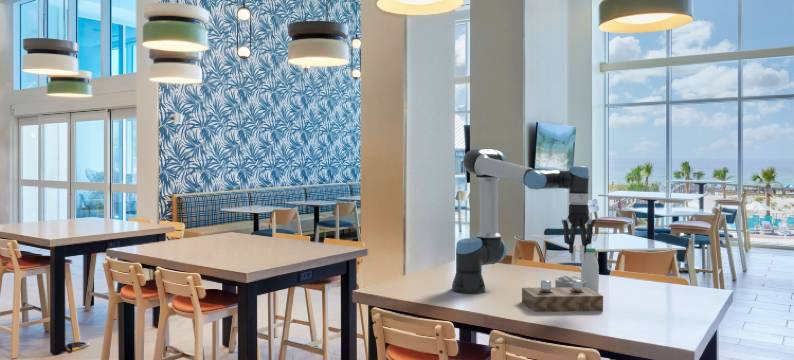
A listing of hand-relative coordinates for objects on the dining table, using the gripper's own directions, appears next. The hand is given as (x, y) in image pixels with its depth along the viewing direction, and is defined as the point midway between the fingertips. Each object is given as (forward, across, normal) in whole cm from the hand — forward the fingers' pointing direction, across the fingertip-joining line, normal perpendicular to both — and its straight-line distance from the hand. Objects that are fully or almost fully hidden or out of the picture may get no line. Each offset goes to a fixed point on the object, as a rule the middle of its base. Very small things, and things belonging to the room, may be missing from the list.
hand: (577, 261), depth 234 cm
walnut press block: (+19, -6, 0) cm, 20 cm away
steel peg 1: (+14, -13, 0) cm, 19 cm away
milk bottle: (+19, +16, +26) cm, 36 cm away
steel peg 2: (+14, 0, 0) cm, 14 cm away
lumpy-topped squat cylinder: (+19, +3, +17) cm, 25 cm away
